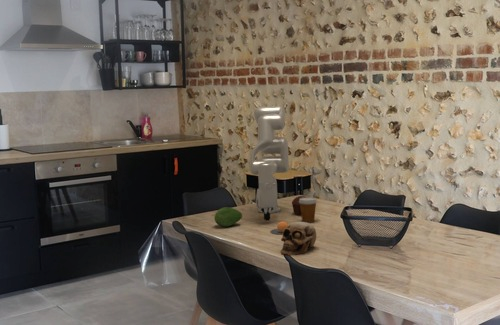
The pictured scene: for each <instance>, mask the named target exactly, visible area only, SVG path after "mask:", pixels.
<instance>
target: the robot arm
mask: <svg viewBox="0 0 500 325" xmlns="http://www.w3.org/2000/svg"><path fill="white" fill-rule="evenodd" d="M253 116H254V120H255V122H256V124H257V143H256V144H255V146H254V147H253V148H252V150H251V152H250V154H249V171H250V173H251V174H252V175H254V176H255V175H256V176H258V177H257V178H258V188H257V189H256V196H255V198H256V199H255V201H256V203H255V205H256V210H257V211H258V212H259V213H263V219H264V221H266V222H270V221H271V220H270V219H271V213H272V214H273V213H274V214H275V213H279V212H281V208H280V207H278V204H279V203H278V183H277V179H276V177H275V176H274V175H275V174H280V173H281V174H282V173H288V171H289V166H290V165H289V163H290V162H289V159H290V158H289V144H288V139H287V138H286V137H285V136H284V137H282V136H277V137H276V136H275V131H279V130H280V131H281V130H284V128H285V124H286V121H285V120H286V111H285V108H284V106H281V105H279V106H278V105H277V106H276V105H275V106H259V107H256V108H255V109H254V110H253ZM258 153H262V154H263V155H267V156H261V157H260V158H259V159H258V160H256V157H257V154H258ZM268 155H269V156H268ZM270 155H272V156H270ZM274 155H275V156H274Z"/></svg>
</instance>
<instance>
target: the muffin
mask: <svg viewBox="0 0 500 325" xmlns="http://www.w3.org/2000/svg"><path fill="white" fill-rule="evenodd" d="M305 197H306V196H305V195H299V196H296V197H295V198H293V199H292V202H291V205H292V209H293V215H294V216H298V217H302V215H301V209H300V203H299V199H300V198H305Z"/></svg>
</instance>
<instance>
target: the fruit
mask: <svg viewBox="0 0 500 325" xmlns="http://www.w3.org/2000/svg"><path fill="white" fill-rule="evenodd" d="M242 218H243V213H241V211H239V210H238V209H236V208H232V207H228V206H226V207H221V208H219V209H218V210H217V212H216V213H215V215H214V222H215V224H217V225H218V226H220V227H224V228H226V227H231V226H234V225H235V224H237V223H238V222H239V221H241V219H242Z"/></svg>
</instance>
